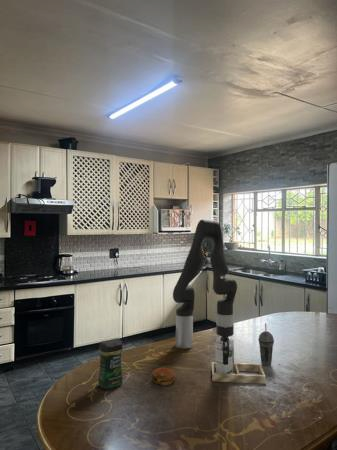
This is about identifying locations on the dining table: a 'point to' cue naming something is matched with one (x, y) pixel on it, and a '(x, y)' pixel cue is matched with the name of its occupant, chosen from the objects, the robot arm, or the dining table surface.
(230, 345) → the syrup box
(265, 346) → the beverage cup
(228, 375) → the wooden frame
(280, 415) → the dining table surface
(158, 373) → the burger
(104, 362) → the coffee jar
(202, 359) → the dining table surface
